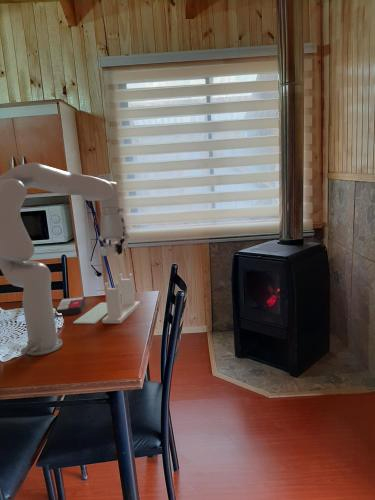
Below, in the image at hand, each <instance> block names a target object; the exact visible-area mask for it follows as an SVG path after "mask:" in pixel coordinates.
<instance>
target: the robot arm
mask: <svg viewBox="0 0 375 500" xmlns="http://www.w3.org/2000/svg"><path fill="white" fill-rule="evenodd" d="M27 189H39V190H42V191H47V192H51V193H52V192H53V193H55V194H61V195H65V196H81V197H82V199H84V200H85V201H88V202H97V201H100V205H101V207H100V208H101V213H102V214H101V215H100V235H99V236H98V239H99V240H100V241H101V242H102V243H104V244H105V245H108V244H111V243H112V239H116V241H117V242H118V245H117V250H118V252H117V255H122V254H123V250H124V249H122V244H123V242H124V241H125V240H128V239H129V238H130V236H129V235H128V233H127V228H126V222H125V219H124V216H123V215H124V214H123V213H121V212H123V211H124V209H123V208H122V207H121V206H120V200H119V199H120V197H119V188H118V184H117V182H115V181H108V180H106V179H103V178H99V177H97V176H96V177H95V176H91V175H86V174H80V173H76V172H69V171H66V170H62V169H59V168H56V167H52V166H48V165H45V164H42V163H39V162H29V163H24V164H18V165H17V166H14V167H13V168H11V169H10V170H8V171H6V172H4V173H2V174H1V175H0V270H1V272H2V273H1V274H3V276H4V278H5V279H6V281H7V282H8V283H9V284H11V285H12V286H14V287H19V288H23V292H22V293H23V294H22V298H21V299H22V310H23V314H24V316H23V317H24V320H25V327H26V333H27V339H28V340H27V341H26V346H25V347H23V348H22V349H20V354H22V355H26V354H27V355H29V356H42V355H43V356H44V355H47V354H50V353H53V352H56V351H57V350H59V349H60V348H61V347H62V346H63V344H64V343H63V342H64V341H63V340H62V339H61V338H59V337H58V334H57V326H56V325H57V324H56V320H55V311H54V306H53V298H52V286H51V284H52V273H51V270H50V268H49V267H48V266H47V265H46V264H45V263H43V262H39V261H36V260H35V261H34V260H33V261H32V260H30V259H32V257H33V256H34V255H35V246H34V243H33V241H32V239H31V237H30V235H29V233H28V231H27V229H26V227H25V225H24V222H23V219H22V217H21V209H22V206H23V204H24V201H25V200H26V198H27V195H28V194H27V193H28V191H27Z"/></svg>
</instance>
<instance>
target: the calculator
mask: <svg viewBox="0 0 375 500" xmlns="http://www.w3.org/2000/svg"><path fill="white" fill-rule="evenodd" d="M85 300H86V299H85V297H83V296H78V297H72V298H71V297H69V298H62V299H60V301H59V304H58V306H57V307H56V309H55V312H56V311H57V312H58V313H62V315H63V316H69V315H76V314H82V312H83V309H84V306H85V304H86V303H85Z"/></svg>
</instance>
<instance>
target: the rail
mask: <svg viewBox="0 0 375 500" xmlns="http://www.w3.org/2000/svg"><path fill="white" fill-rule="evenodd" d="M117 245H118V242H117V240H116V241H114V242H111V244H108V245H106V244H105V245H103V246H100V247H99V250H100V257H107V256H111V255H114V254H116V253H118V250H117ZM128 247H129V243H128V239H126V240H125V241H124V242H123V244H122V249H123V250H125V249H127V248H128Z"/></svg>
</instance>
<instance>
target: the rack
mask: <svg viewBox="0 0 375 500" xmlns="http://www.w3.org/2000/svg"><path fill="white" fill-rule="evenodd" d="M118 278H119V279H118V280H119V281H118V282H116V283H115V287H109V282H105V283H104V293H105V302H106V303H107V311H108V314H107V315H105V316H104V317H103V318H102V319H101V322H102V324H121V323H122V322H123V321H125V320H126V319H127V318H128V317H129V316H130V315H131V314H132V313H133V312H134V311H135V310H137V308H139V306H140V304H141V301H139V300H138V301H137V300H136V297H135V295H136V294H135V286H134V278H133V273H129V274H128V278H124V277H123V273H120V274H118Z"/></svg>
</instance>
